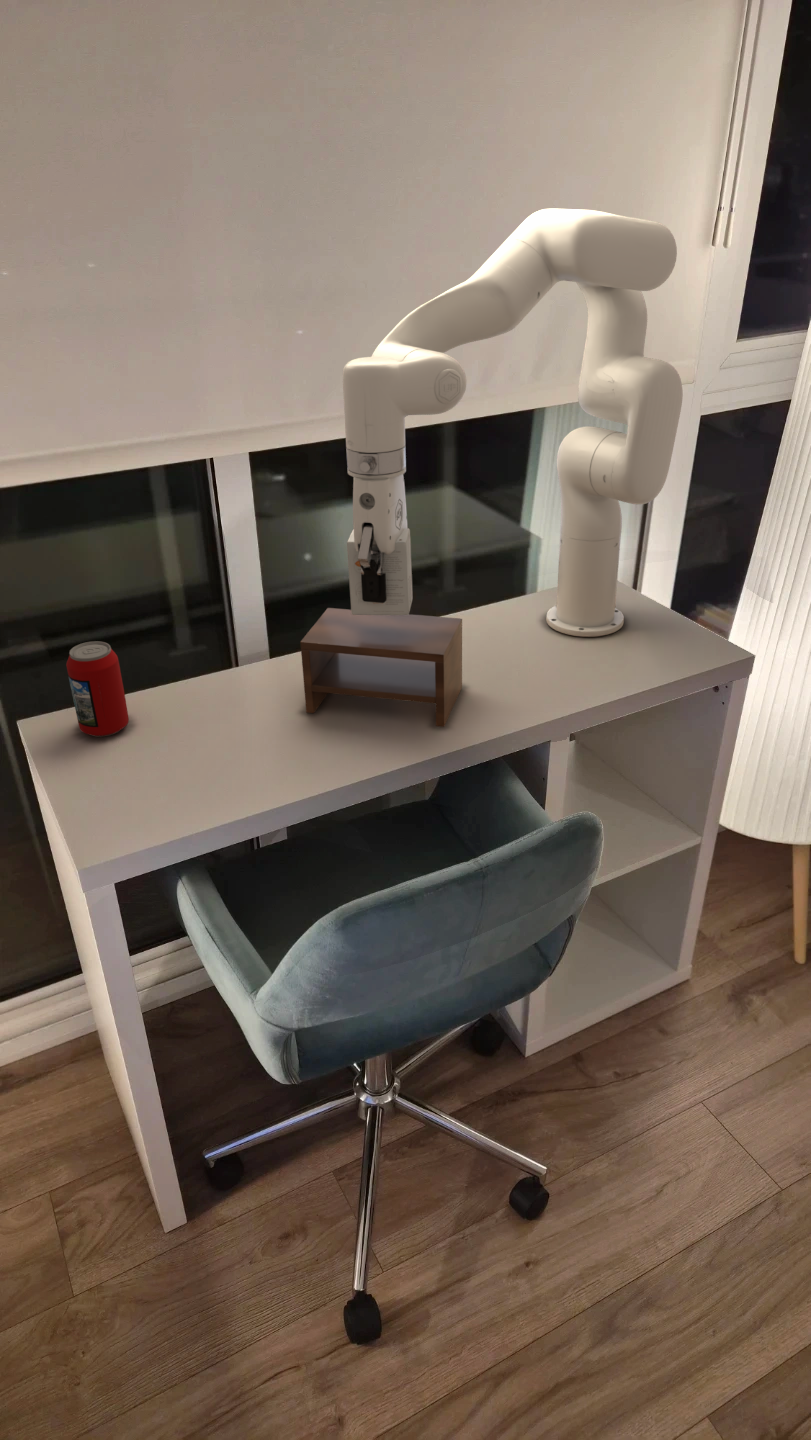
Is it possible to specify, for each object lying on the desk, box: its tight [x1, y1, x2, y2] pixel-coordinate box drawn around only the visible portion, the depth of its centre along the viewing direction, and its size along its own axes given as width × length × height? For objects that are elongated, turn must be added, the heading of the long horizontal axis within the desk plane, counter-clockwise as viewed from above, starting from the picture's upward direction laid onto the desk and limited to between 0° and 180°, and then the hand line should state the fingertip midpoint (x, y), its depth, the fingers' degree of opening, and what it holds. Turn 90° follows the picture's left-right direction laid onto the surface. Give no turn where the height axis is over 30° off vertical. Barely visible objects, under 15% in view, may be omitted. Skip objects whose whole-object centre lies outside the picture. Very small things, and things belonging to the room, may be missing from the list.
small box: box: [346, 527, 413, 615], centre depth 140 cm, size 8×6×10 cm
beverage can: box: [65, 640, 130, 738], centre depth 141 cm, size 7×7×12 cm
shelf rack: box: [300, 607, 463, 728], centre depth 146 cm, size 12×20×11 cm, turn 76°
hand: (381, 590), depth 141 cm, fingers closed on small box, 6 cm apart
